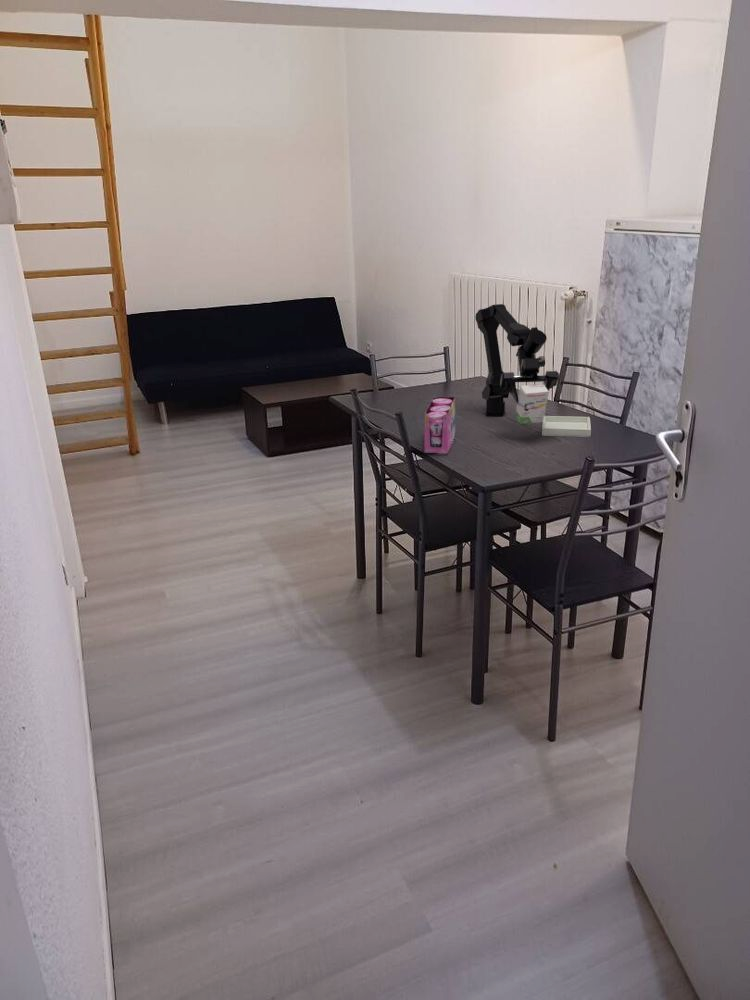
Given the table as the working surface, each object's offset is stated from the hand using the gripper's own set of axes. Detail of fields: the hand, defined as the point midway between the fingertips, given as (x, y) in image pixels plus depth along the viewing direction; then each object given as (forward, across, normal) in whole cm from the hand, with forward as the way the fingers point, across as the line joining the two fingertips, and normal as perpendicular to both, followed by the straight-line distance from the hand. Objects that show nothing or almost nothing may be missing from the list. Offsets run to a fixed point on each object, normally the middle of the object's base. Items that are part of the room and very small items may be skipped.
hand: (531, 401), depth 249 cm
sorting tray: (+2, +14, +17) cm, 22 cm away
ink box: (+4, 0, +6) cm, 7 cm away
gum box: (+10, -30, +9) cm, 33 cm away
